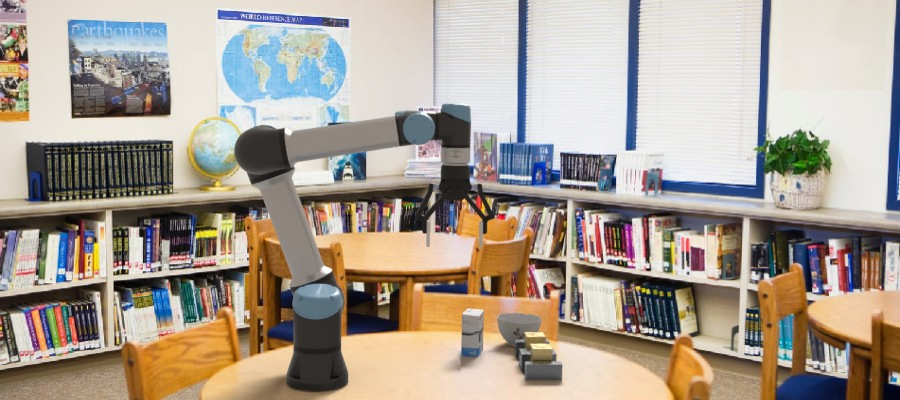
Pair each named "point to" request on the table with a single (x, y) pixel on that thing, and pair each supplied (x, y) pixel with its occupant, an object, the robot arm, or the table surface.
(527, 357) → the rail
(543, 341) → the tan square-edged block
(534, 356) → the wooden cube
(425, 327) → the table surface
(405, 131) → the robot arm
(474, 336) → the ink box
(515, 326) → the teacup
